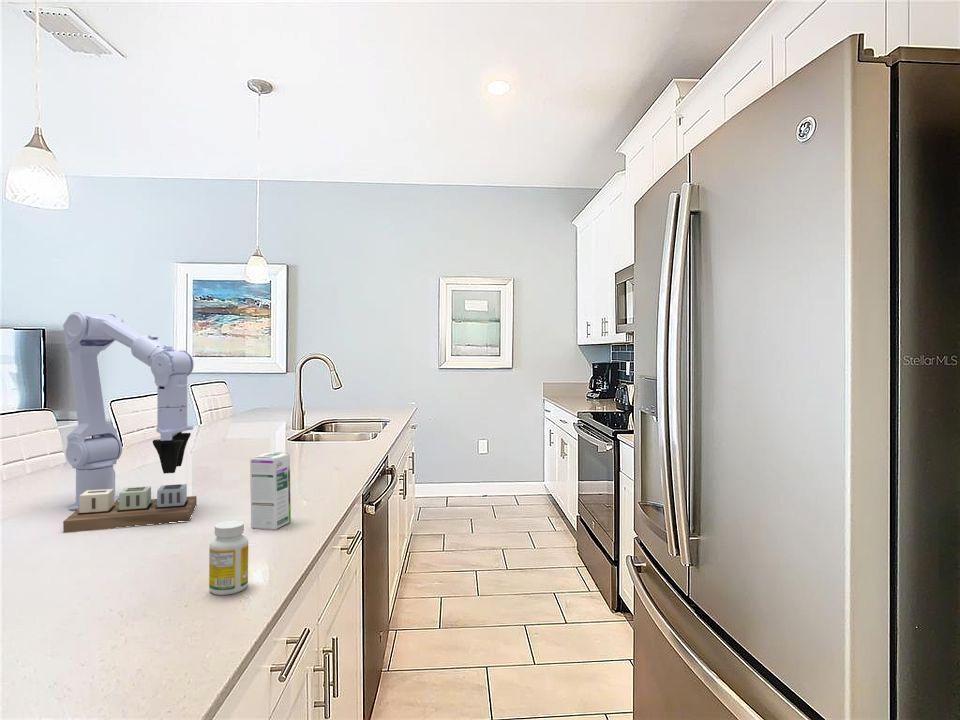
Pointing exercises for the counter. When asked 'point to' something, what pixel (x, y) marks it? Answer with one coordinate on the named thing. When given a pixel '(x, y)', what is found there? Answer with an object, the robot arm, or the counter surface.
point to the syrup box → (270, 490)
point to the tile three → (172, 495)
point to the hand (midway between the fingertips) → (172, 469)
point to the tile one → (96, 500)
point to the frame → (129, 516)
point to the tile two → (134, 498)
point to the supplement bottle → (228, 559)
